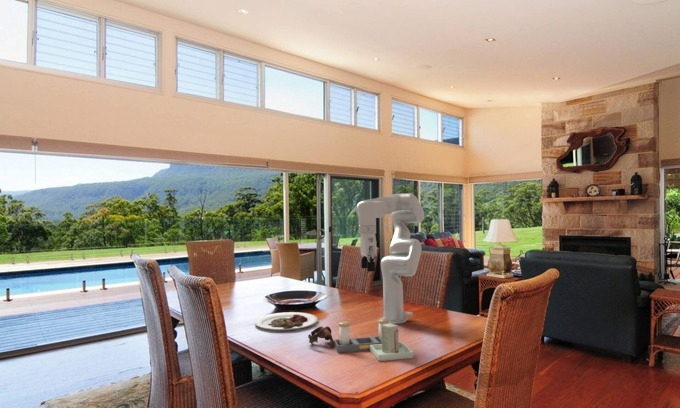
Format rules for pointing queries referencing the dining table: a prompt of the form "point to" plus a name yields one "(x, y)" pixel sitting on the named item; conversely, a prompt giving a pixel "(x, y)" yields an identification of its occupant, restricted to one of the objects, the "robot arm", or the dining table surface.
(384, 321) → the fuse
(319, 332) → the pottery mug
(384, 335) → the skincare box
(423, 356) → the dining table surface
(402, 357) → the tray
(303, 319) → the plated food
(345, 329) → the cylinder
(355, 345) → the fuse holder
